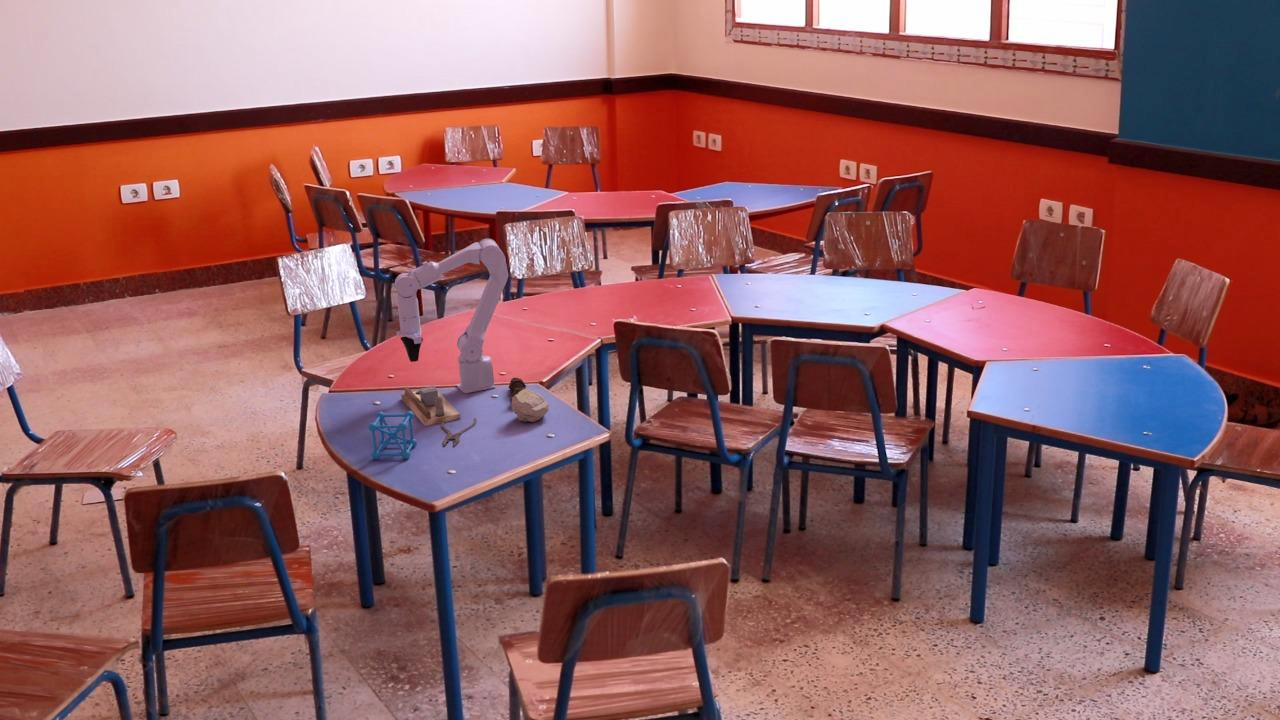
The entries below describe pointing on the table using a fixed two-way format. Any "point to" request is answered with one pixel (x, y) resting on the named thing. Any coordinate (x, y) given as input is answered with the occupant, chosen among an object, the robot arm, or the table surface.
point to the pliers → (454, 436)
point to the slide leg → (428, 395)
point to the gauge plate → (430, 408)
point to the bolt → (516, 386)
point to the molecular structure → (392, 435)
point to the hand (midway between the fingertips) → (414, 360)
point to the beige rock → (529, 405)
